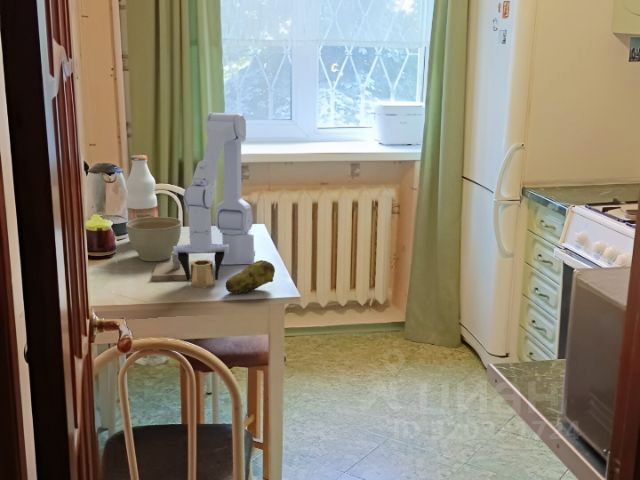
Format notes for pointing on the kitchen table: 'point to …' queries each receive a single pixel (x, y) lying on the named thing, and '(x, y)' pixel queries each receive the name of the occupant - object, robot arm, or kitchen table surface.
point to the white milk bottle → (141, 190)
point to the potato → (251, 277)
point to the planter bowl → (154, 237)
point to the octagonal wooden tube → (202, 273)
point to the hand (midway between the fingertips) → (202, 279)
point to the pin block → (170, 271)
